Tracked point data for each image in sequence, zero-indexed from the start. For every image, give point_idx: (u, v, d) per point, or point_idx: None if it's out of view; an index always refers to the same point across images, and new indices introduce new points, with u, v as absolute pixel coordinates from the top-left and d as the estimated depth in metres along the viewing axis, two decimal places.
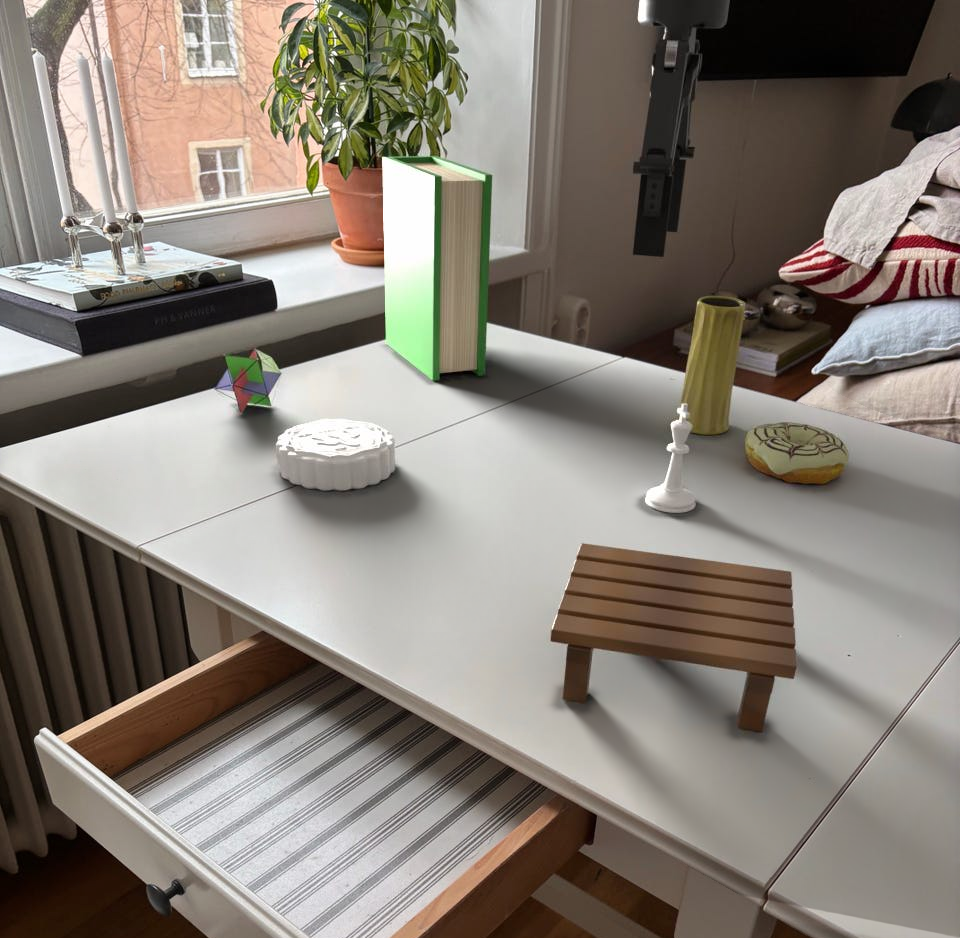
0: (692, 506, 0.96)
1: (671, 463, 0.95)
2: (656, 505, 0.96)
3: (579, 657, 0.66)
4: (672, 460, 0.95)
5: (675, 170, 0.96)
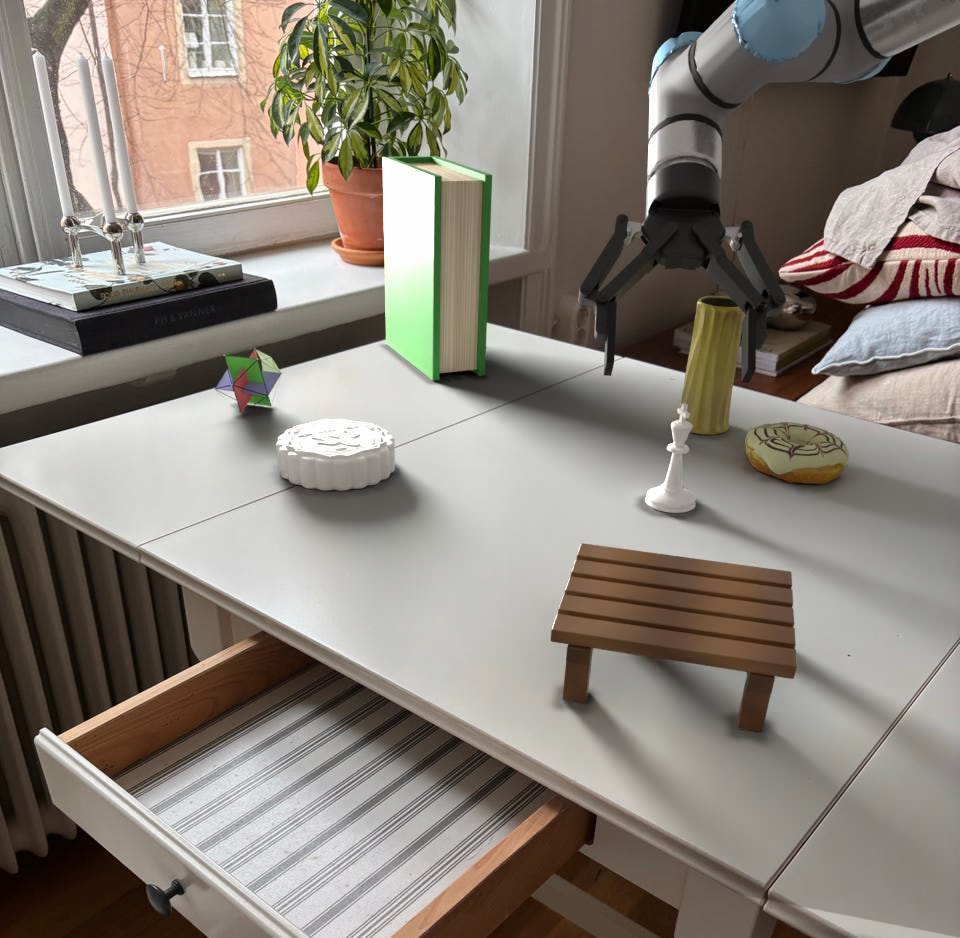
0: (692, 506, 0.96)
1: (671, 463, 0.95)
2: (656, 505, 0.96)
3: (579, 657, 0.66)
4: (672, 460, 0.95)
5: (746, 321, 0.97)
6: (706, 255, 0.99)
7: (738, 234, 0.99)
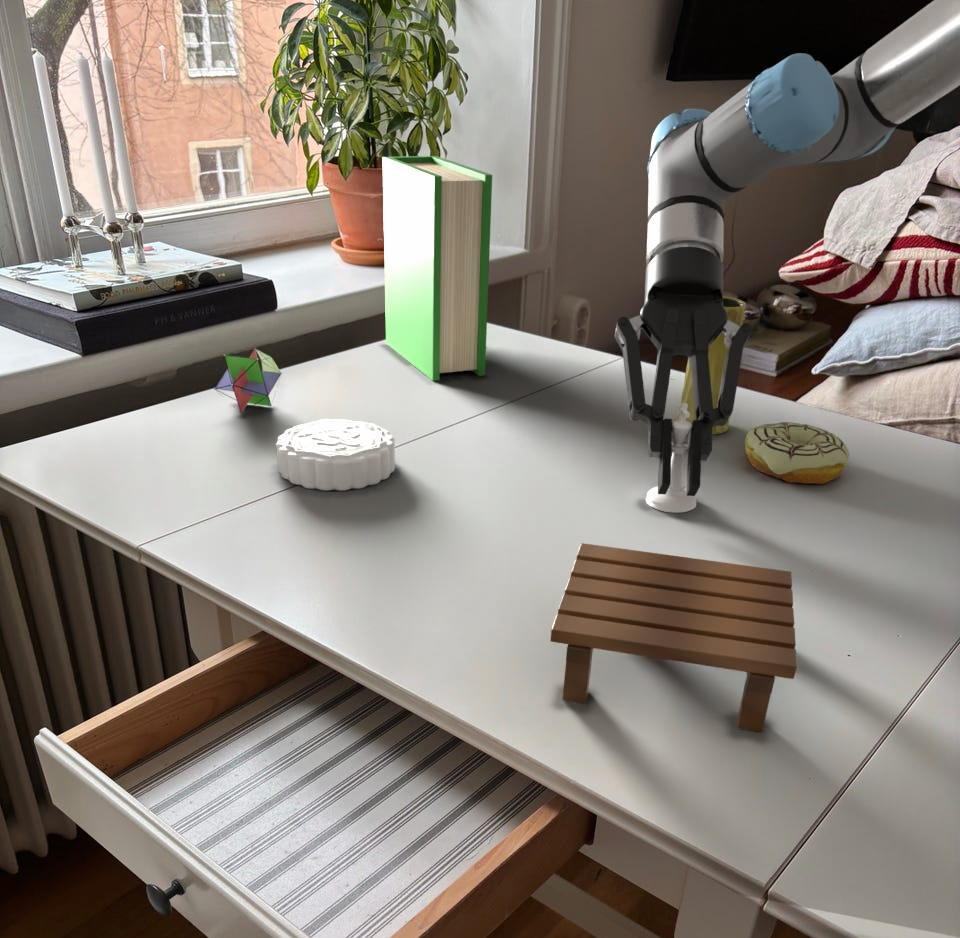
0: (693, 506, 0.96)
1: (671, 463, 0.95)
2: (657, 505, 0.96)
3: (579, 657, 0.66)
4: (672, 459, 0.95)
5: (691, 432, 0.93)
6: None
7: (732, 332, 0.95)
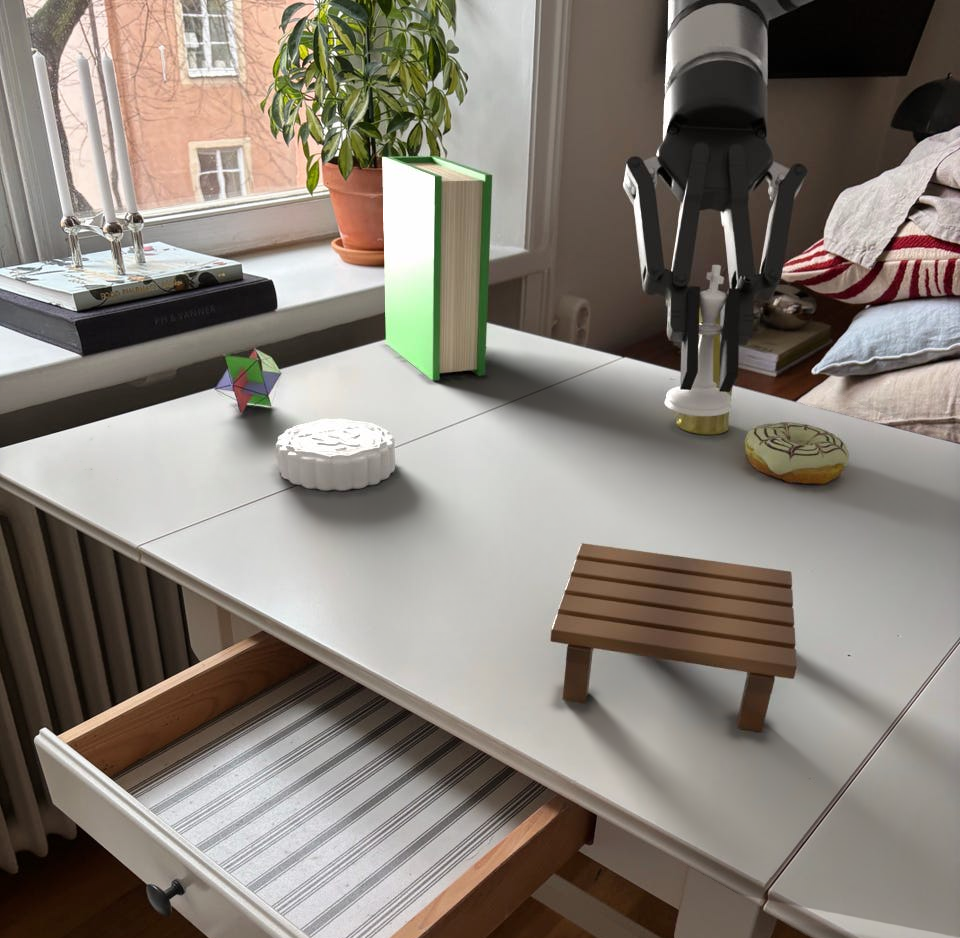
0: (727, 408, 0.73)
1: (699, 350, 0.72)
2: (679, 407, 0.72)
3: (579, 657, 0.66)
4: (699, 345, 0.71)
5: (726, 306, 0.70)
6: None
7: (780, 174, 0.71)
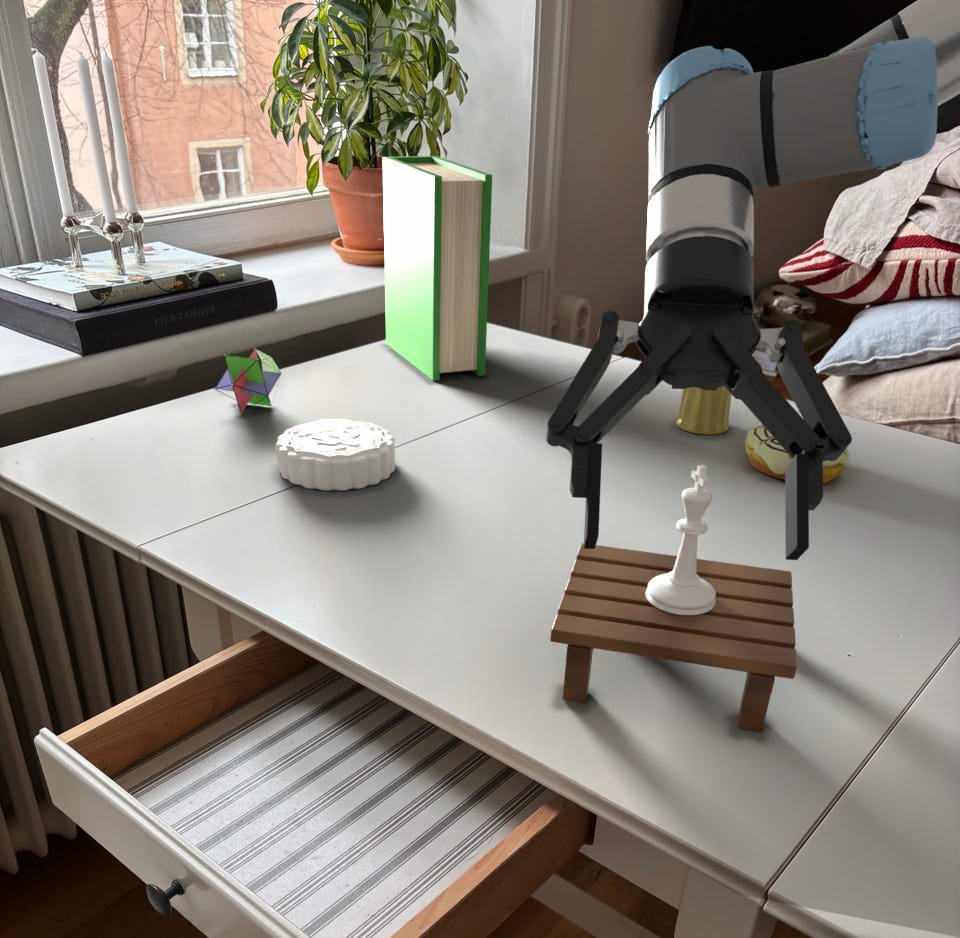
0: (711, 605, 0.69)
1: (682, 546, 0.68)
2: (661, 604, 0.69)
3: (579, 657, 0.66)
4: (683, 542, 0.68)
5: (793, 471, 0.66)
6: (733, 371, 0.68)
7: (780, 340, 0.67)
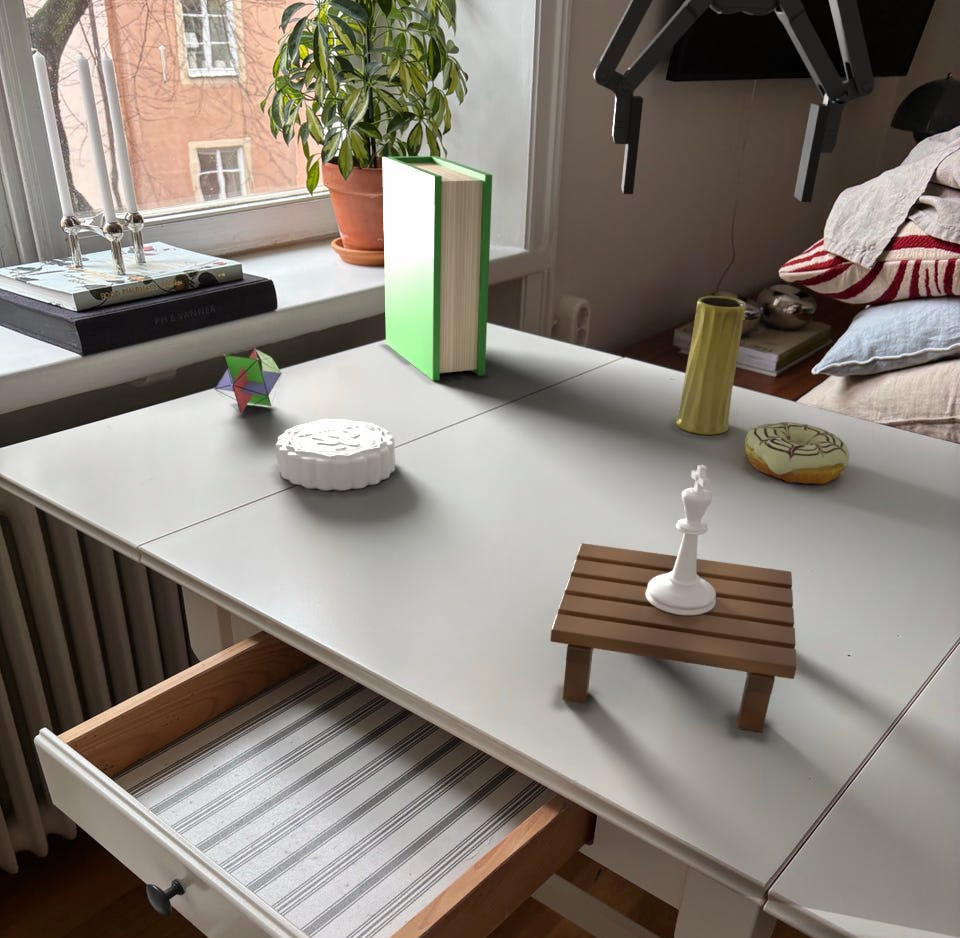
0: (711, 605, 0.69)
1: (682, 546, 0.68)
2: (661, 604, 0.69)
3: (579, 657, 0.66)
4: (683, 542, 0.68)
5: (814, 118, 0.73)
6: (777, 5, 0.70)
7: None
